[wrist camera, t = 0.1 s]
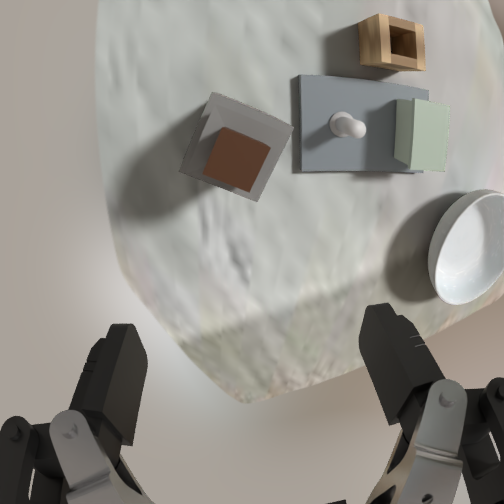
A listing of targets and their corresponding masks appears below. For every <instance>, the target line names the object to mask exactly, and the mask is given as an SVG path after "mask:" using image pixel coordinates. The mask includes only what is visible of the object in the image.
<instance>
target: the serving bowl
mask: <svg viewBox="0 0 504 504" xmlns="http://www.w3.org/2000/svg"><path fill="white" fill-rule="evenodd" d="M428 271H429V276H430V280H431V283H432V285H433V287H434V289H435V291H436V293H437V295H438V296H439V298H440V299H441V300H442V301H444V302H445V303H448V304H451V305H460V304H465V303H467V302H470V301H472V300H474V299H476V298H477V297H479V296H480V295H482V294H483V293H484V292H485V291H487V290H488V289H489V288H490V287H491V286H492V285H493V284H494V283H495V281H496V280H497V279H498V278H499V276H500V275H501V274H502V272H503V271H504V194H502V193H500V192H497V191H493V190H487V189H483V190H476V191H473V192H470V193H468V194H466V195H464V196H462V197H461V198H459V199H458V200H457V201H456V202H454V203H453V204H452V205H451V206H450V207H449V209H448V210H447V211H446V212H445V214H444V215H443V216H442V218H441V220H440V221H439V223H438V225H437V227H436V229H435V231H434V234H433V237H432V240H431V243H430V247H429V254H428Z"/></svg>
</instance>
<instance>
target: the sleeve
mask: <svg viewBox="0 0 504 504" xmlns="http://www.w3.org/2000/svg"><path fill="white" fill-rule="evenodd" d="M358 33H359V50H360V65H365V66H372V67H378V68H384V69H390V70H396V71H426V68H425V45H424V31H423V25H420V24H417V23H414V22H410V21H407V20H403V19H399V18H395V17H391V16H387V15H383V14H376V15H374V16H372V17H369V18H367V19H365V20H363V21H361V22H359V23H358ZM390 37H391V40H392V54H391V47H390Z"/></svg>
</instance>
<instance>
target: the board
mask: <svg viewBox="0 0 504 504" xmlns="http://www.w3.org/2000/svg"><path fill="white" fill-rule="evenodd" d="M298 78H299V112H300V170H301V171H388V172H413V173H423V171H424V170H410V169H408V165H407V164H405V163H403V162H401V161H399V160H397V159H395V158H394V149H395V132H396V106H397V99H404V100H411V101H412V98H415V99H420V100H426V101H429V90H425V89H420V88H415V87H410V86H405V85H399V84H393V83H387V82H381V81H373V80H366V79H357V78H347V77H336V76H321V75H298Z"/></svg>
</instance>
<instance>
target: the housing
mask: <svg viewBox="0 0 504 504" xmlns="http://www.w3.org/2000/svg"><path fill="white" fill-rule="evenodd" d="M449 121H450V106H449V105H444V104H440V103H435V102H431V101H426V100H420V99H415V98H412V101H411V100H404V99H397V106H396V132H395V149H394V158H395V159H397V160H399V161H401V162H403V163H405V164H407V165H408V169H410V170H424V171H439V172H445V164H446V156H447V146H448V135H449Z"/></svg>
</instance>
